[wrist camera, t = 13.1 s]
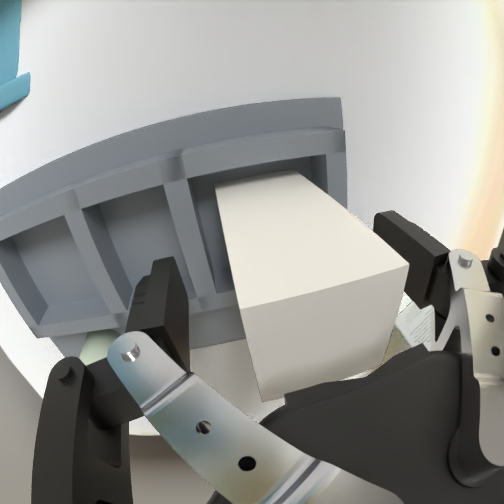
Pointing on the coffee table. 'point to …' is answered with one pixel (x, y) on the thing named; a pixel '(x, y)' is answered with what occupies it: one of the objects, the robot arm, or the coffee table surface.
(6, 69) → the blue yellow plastic figure
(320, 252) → the plug
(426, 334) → the small box
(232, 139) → the grey compartment tray
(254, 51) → the coffee table surface
